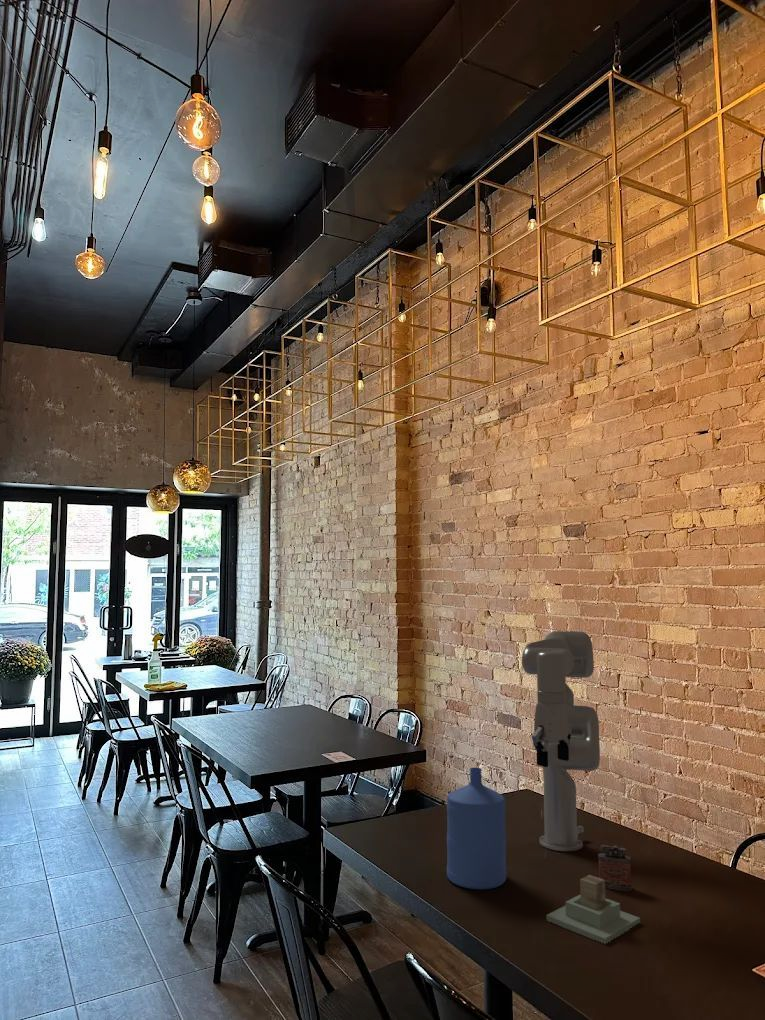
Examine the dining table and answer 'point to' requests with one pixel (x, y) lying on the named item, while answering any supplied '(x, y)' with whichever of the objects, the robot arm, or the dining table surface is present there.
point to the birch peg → (592, 892)
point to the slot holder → (593, 920)
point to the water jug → (476, 835)
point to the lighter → (615, 868)
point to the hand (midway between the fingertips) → (553, 762)
